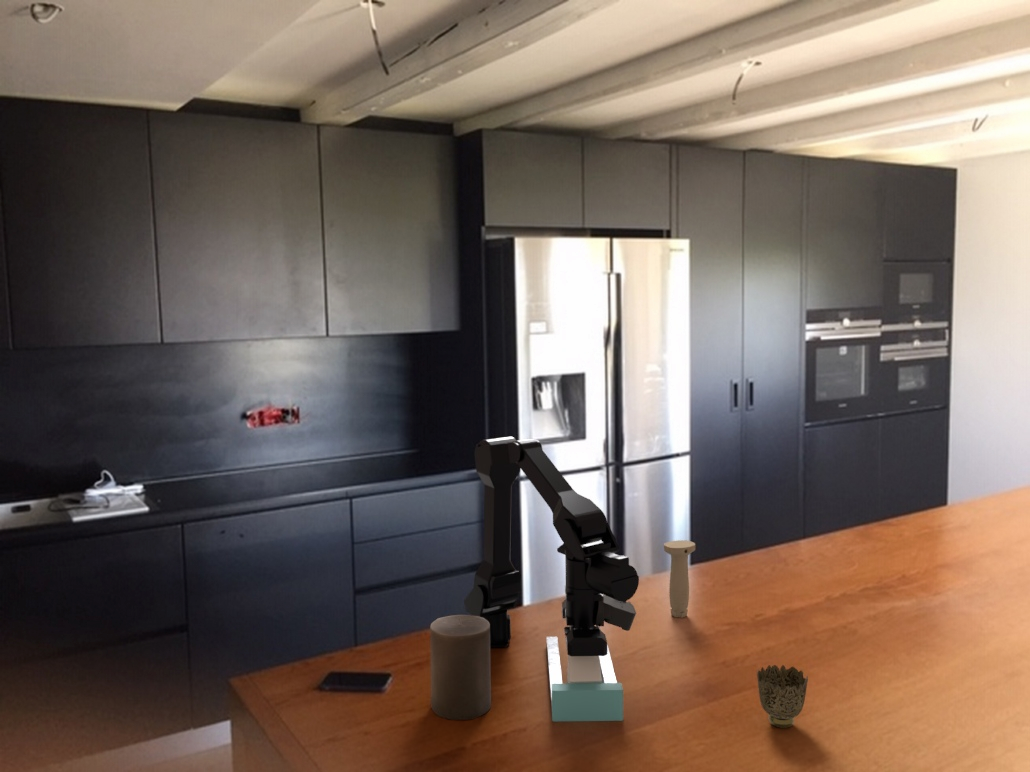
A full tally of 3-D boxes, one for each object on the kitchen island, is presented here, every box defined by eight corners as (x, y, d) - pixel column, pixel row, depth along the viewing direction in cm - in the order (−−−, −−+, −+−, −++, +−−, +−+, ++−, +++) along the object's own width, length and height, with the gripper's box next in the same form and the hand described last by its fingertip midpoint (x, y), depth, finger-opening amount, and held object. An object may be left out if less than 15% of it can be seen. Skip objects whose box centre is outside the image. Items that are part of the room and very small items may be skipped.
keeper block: (569, 705, 143) (570, 681, 140) (566, 679, 147) (568, 655, 144) (600, 704, 143) (602, 680, 140) (596, 679, 147) (598, 655, 144)
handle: (699, 617, 180) (699, 545, 178) (671, 622, 178) (672, 549, 176) (685, 609, 184) (686, 539, 183) (659, 613, 182) (659, 542, 180)
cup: (749, 713, 140) (750, 665, 139) (794, 711, 140) (795, 662, 139) (766, 737, 132) (767, 686, 131) (814, 734, 133) (815, 683, 132)
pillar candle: (468, 726, 137) (467, 632, 135) (418, 710, 142) (417, 620, 140) (502, 701, 145) (502, 613, 143) (454, 687, 150) (453, 602, 149)
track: (552, 721, 138) (552, 690, 137) (546, 646, 166) (546, 621, 166) (623, 720, 138) (623, 689, 137) (605, 646, 166) (605, 620, 166)
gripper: (640, 603, 136) (639, 700, 138) (625, 565, 155) (625, 651, 156) (567, 604, 136) (568, 701, 138) (561, 566, 155) (562, 651, 156)
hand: (583, 674), depth 147 cm, fingers closed
